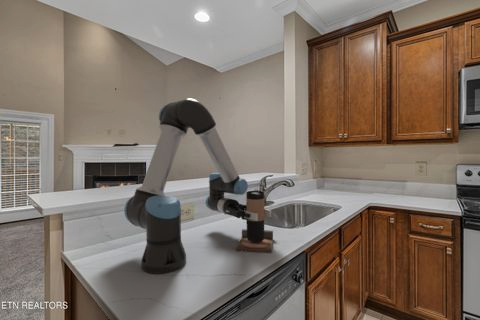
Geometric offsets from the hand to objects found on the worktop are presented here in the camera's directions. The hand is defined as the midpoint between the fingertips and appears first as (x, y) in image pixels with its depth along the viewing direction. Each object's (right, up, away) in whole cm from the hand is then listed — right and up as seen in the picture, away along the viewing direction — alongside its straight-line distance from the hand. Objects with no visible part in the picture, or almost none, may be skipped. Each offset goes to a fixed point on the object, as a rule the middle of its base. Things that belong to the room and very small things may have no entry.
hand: (263, 215), depth 97 cm
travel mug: (-3, -11, +4) cm, 12 cm away
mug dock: (-3, -13, +4) cm, 14 cm away
